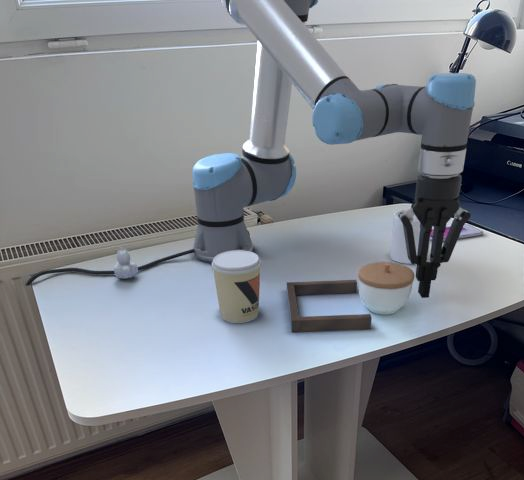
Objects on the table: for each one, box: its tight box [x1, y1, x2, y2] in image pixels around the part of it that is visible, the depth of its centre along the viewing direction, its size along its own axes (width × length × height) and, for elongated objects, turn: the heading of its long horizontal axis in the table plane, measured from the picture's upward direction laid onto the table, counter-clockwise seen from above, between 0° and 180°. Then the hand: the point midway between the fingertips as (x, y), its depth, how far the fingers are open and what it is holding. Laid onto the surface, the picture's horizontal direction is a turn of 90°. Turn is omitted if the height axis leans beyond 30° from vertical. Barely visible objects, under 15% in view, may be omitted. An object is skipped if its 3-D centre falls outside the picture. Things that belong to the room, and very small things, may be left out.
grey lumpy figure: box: [113, 245, 139, 280], centre depth 118 cm, size 5×7×8 cm
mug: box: [389, 208, 431, 265], centre depth 120 cm, size 9×12×11 cm
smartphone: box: [430, 223, 484, 242], centre depth 136 cm, size 7×1×15 cm
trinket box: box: [357, 261, 416, 316], centre depth 101 cm, size 11×11×9 cm
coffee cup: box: [211, 250, 262, 324], centre depth 100 cm, size 9×9×12 cm
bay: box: [285, 279, 372, 333], centre depth 103 cm, size 15×17×2 cm
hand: (423, 294), depth 102 cm, fingers closed
